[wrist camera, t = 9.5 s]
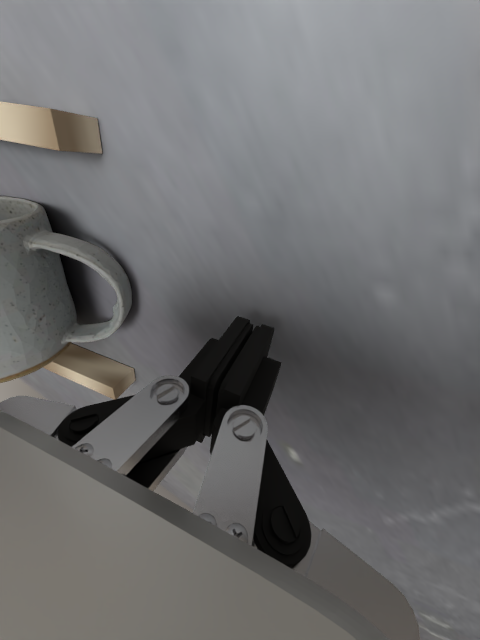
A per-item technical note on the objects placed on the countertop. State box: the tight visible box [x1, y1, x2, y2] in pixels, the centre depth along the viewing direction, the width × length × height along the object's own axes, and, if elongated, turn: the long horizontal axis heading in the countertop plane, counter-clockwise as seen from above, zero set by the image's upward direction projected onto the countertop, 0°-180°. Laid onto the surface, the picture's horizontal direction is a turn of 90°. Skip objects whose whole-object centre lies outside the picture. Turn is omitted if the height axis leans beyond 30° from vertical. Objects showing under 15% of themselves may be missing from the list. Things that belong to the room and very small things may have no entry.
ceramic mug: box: [0, 196, 132, 383], centre depth 12 cm, size 11×8×8 cm
